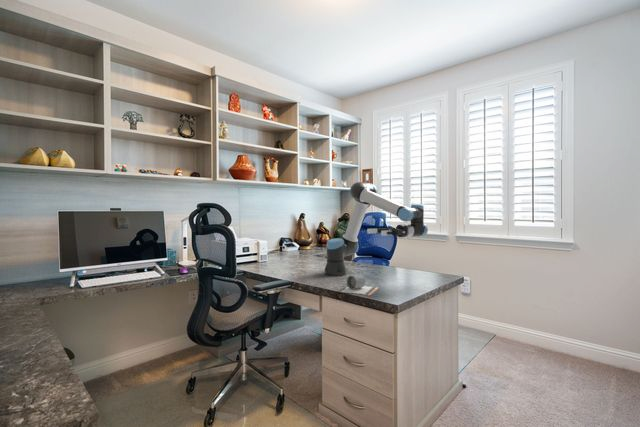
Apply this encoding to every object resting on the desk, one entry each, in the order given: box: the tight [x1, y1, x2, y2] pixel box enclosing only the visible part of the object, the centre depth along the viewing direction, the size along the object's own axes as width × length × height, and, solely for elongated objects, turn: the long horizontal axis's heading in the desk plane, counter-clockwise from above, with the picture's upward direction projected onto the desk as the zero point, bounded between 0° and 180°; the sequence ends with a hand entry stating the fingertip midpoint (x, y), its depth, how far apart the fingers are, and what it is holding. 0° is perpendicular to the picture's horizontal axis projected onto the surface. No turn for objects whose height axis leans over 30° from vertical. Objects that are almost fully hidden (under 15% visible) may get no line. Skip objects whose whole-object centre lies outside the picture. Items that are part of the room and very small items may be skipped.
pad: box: [341, 285, 374, 296], centre depth 180 cm, size 15×13×1 cm
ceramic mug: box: [345, 274, 366, 290], centre depth 182 cm, size 11×8×8 cm
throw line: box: [367, 286, 380, 297], centre depth 176 cm, size 17×2×1 cm, turn 155°
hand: (374, 232), depth 185 cm, fingers open, 13 cm apart
